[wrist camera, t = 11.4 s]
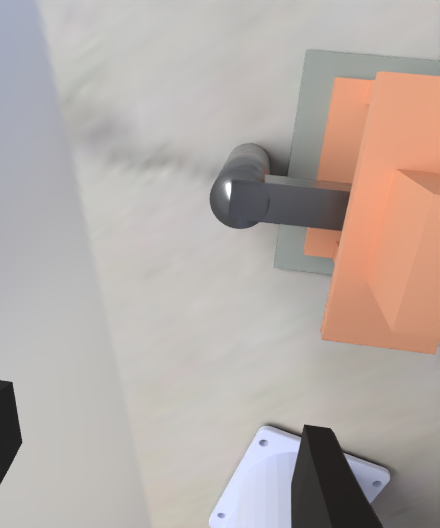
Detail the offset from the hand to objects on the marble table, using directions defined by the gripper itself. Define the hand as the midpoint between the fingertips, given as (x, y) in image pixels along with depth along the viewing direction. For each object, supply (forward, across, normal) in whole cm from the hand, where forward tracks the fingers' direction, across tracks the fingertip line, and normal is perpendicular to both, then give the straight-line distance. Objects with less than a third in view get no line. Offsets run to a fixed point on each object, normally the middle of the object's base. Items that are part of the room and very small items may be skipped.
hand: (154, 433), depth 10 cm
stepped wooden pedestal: (+10, -6, -5) cm, 13 cm away
